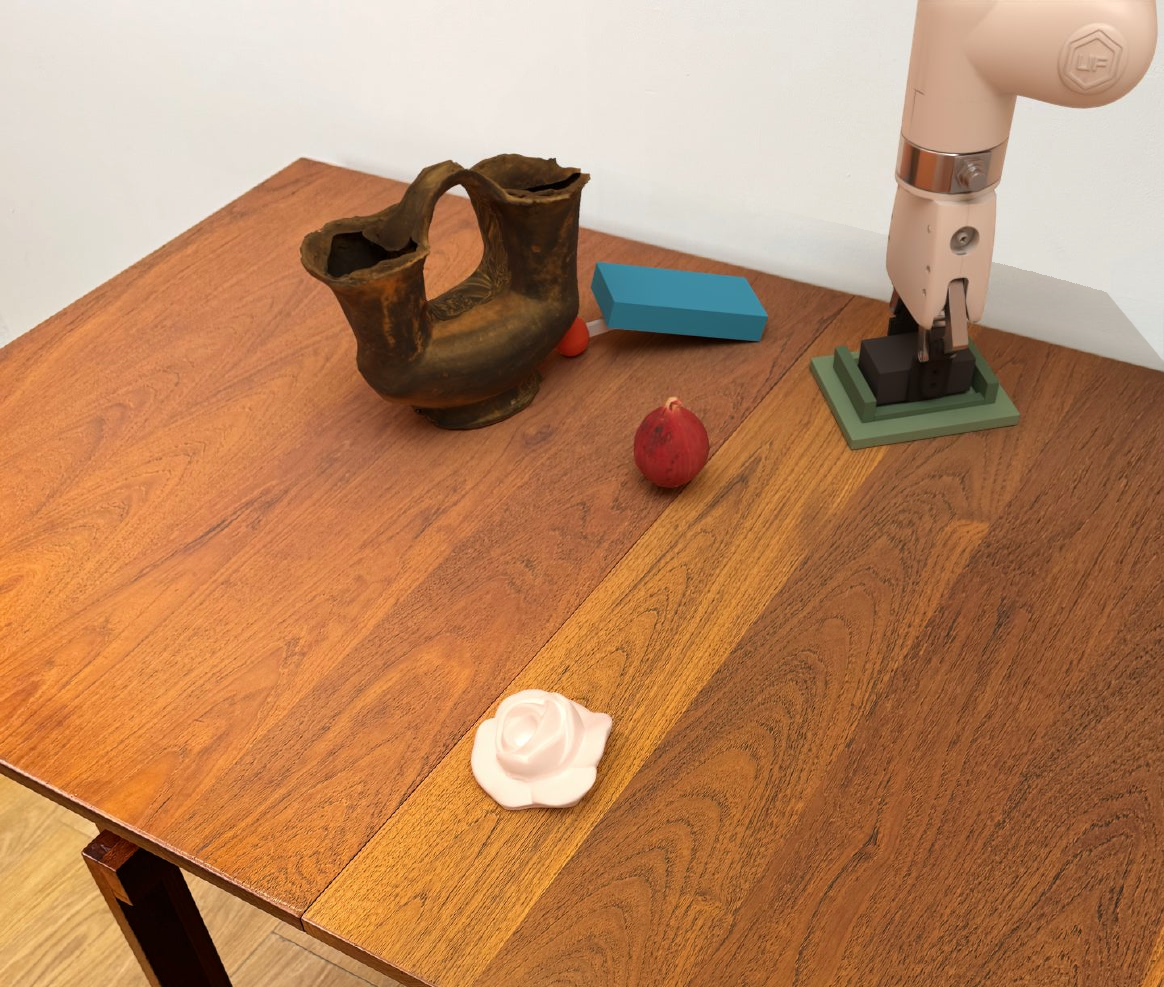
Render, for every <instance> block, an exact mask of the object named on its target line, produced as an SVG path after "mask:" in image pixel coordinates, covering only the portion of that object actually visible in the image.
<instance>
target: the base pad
mask: <svg viewBox="0 0 1164 987" xmlns="http://www.w3.org/2000/svg"><path fill="white" fill-rule="evenodd" d="M968 347H969V349H970V350H971V352H972V353H973V355H974V356H975V358H976V362H975V367H974V372H973V377H972V382H971V386H970V390H969V391H964V392H958V393H951V394H946V395H945V396H944V397H942V398H936V399H930V400H923V401H917V402H909V401H908V400H905V401H899V402H892V403H886V404H879V405H876V399H875V397H874V395H873V393H872V391H871V390H870V388H869V386H868V384H867V382H866V380H865V379H864V377H863V375H862V373H861V371H860V369H859V368H858V362H859V354H860V350H854V351H850V350H849V348H848V346H847V344H845V345H838V346H835V347H834V353H833V354H827V355H822V356H815V357H810V359H809V360H810V362H809V369H810V371H811V373H812V375H813V378H814V379H815V381H816V383H817V385H818V387H819V389H820V391H821V393H822V395H823V397H824V399H825V401H826V403H827V405H828V407H829V409H830V411H831V413H832V415H833V417H834V419H835V421H836V424H837V425H838V427H839V429H840V431H841V433H842V435H843V437H844V439H845V442H846V443H847V445H848V447H849V449H850V450H851V451H854V450H859V449H860V450H861V449H866V448H874V447H880V446H887V445H892V444H893V445H894V444H898V443H906V442H911V441H918V440H925V439H933V438H939V437H945V436H951V435H959V434H963V433H964V434H965V433H971V432H978V431H983V430H984V431H985V430H990V429H996V428H997V429H998V428H1005V427H1010V426H1017V425H1019V421H1020V417H1021V413H1020V411H1019V410H1018V409H1017V407H1016V406H1015V404H1014V403H1013V401H1012V400H1011V398H1010V397H1009V395H1008V394H1007V392H1006V390H1005V388H1003V386H1002V385H1001V383H1000V380H999V378H998V377H997V376H996V374H995V372H994V371H993V370H992V368H991V367H990V365H989V363H988V362H987V361H986V359H985V357H984V356H983V354H982V353H981V351H980V350H979V348H978V347H977V346H976V344H975V343H974V341H973V339H972V338H971V336H970V335H969V334H968Z"/></svg>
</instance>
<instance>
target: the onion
mask: <svg viewBox="0 0 1164 987" xmlns="http://www.w3.org/2000/svg"><path fill="white" fill-rule="evenodd" d="M682 404H683V402H682V399H681V398H679V397H677V395H676V396H670V397H668V398H667V399H666V401H664V403H663V405H662V406H659V407H657V408H655V409H653V410H652V411H651V412H649V413H648V414H647V415H645V417H644V418H643V420H642V421H641V423H640V424H639V426H638V427H637V429H636V431H635V434H634V436H633V437H634V438H633V458H634V462H635V465H636V466H637V467H638V470H639V471H640V473H641V474H642V475H643V477H644V478H645V479H646V480H648V481H650V482H651V483H653V484H654V485H656V486H658V487H663V488H671V489H675V488H677V487H680V486H682V485H684V484H687V483H689V482H690V481H692V480H693V479H694V478H696V477H697V476H698V475H700V473H701V472H702V471H703V469H704V467H705V465H706V463H707V461H708V459H709V454H710V448H711V447H710V438H709V435H708V431H707V429H706V427H705V425H704V423H703V422H702V421H701V419H700V418H699V417H698V416H697V415H696V414H695V413H693V411H691V410H689V409H687V408H685V407H683V406H682Z"/></svg>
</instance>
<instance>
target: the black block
mask: <svg viewBox="0 0 1164 987" xmlns="http://www.w3.org/2000/svg"><path fill="white" fill-rule="evenodd" d="M945 333H946V327H945V328H938V329H931V338H930V343H931V342H933V341H934V340H935V339H939V338H943V337H944V336H945ZM918 337H919V331H918V332H912V333H905V334H898V335H891V336H887V335H885V336H877V337H872V338H864V339H861V340H860V345H859V346H860V347H859V351H860V354H859V362H858V368H859V369H860V371H861V373H862V375H863V377H864V379H865V380H866V382H867V384H868V386H869V388H870V390H871V391H872V393H873V395H874V397H875V399H876V405H879V404H886V403H892V402H899V401H905V400H908V399H907V397H906V393H907V387H908V381H909V375H910V368H911V362H912V356H915V355H918ZM975 362H976V358H975V356H974V355H973V353H972V352H971V350H970V349H969V347H967V349H964V350H961V351H958V352H957V354H956V357H955V358H953V361H952V366H951V371H950V376H949V382H948V387H947V392H946V394H951V393H958V392H964V391H969V390H970V386H971V382H972V377H973V372H974V367H975Z"/></svg>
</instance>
